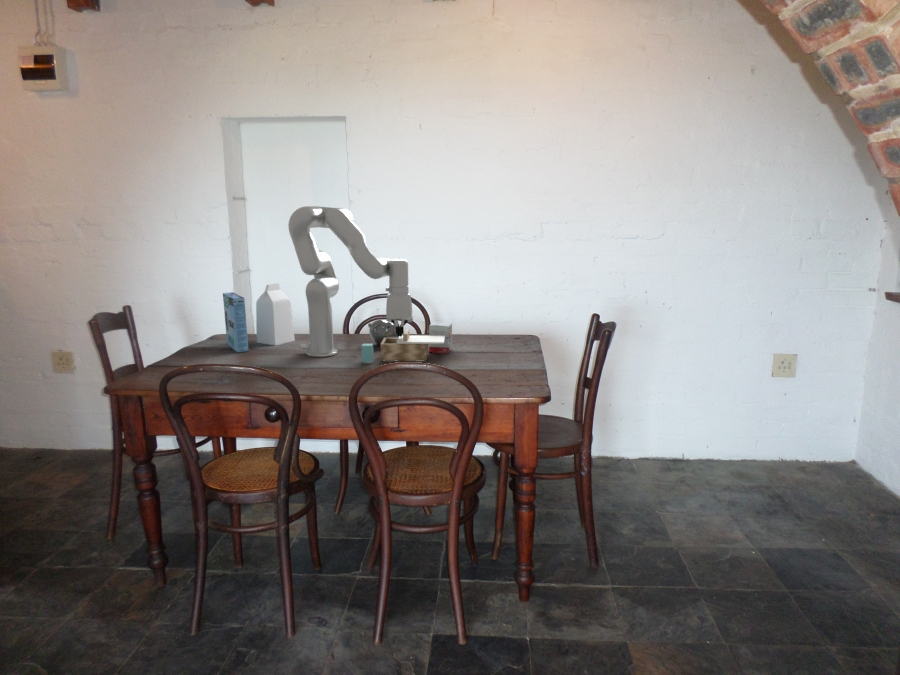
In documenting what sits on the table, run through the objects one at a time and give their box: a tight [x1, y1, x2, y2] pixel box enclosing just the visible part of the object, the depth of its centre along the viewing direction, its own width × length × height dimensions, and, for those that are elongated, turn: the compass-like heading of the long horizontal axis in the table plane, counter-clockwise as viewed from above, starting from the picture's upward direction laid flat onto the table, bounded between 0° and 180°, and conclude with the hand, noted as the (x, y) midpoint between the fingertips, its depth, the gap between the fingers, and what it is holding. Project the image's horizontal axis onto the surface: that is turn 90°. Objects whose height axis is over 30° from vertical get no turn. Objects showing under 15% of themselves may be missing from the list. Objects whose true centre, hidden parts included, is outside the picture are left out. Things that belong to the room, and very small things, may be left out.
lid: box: [397, 328, 445, 345], centre depth 253 cm, size 19×13×4 cm
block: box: [361, 343, 374, 363], centre depth 248 cm, size 4×4×7 cm
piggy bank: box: [367, 318, 399, 347], centre depth 276 cm, size 11×15×12 cm
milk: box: [255, 283, 296, 346], centre depth 282 cm, size 12×12×26 cm
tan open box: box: [379, 338, 429, 363], centre depth 254 cm, size 18×12×7 cm, turn 89°
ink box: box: [428, 321, 453, 354], centre depth 266 cm, size 9×9×12 cm
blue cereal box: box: [222, 291, 249, 353], centre depth 269 cm, size 20×5×23 cm, turn 31°
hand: (399, 335), depth 253 cm, fingers closed
